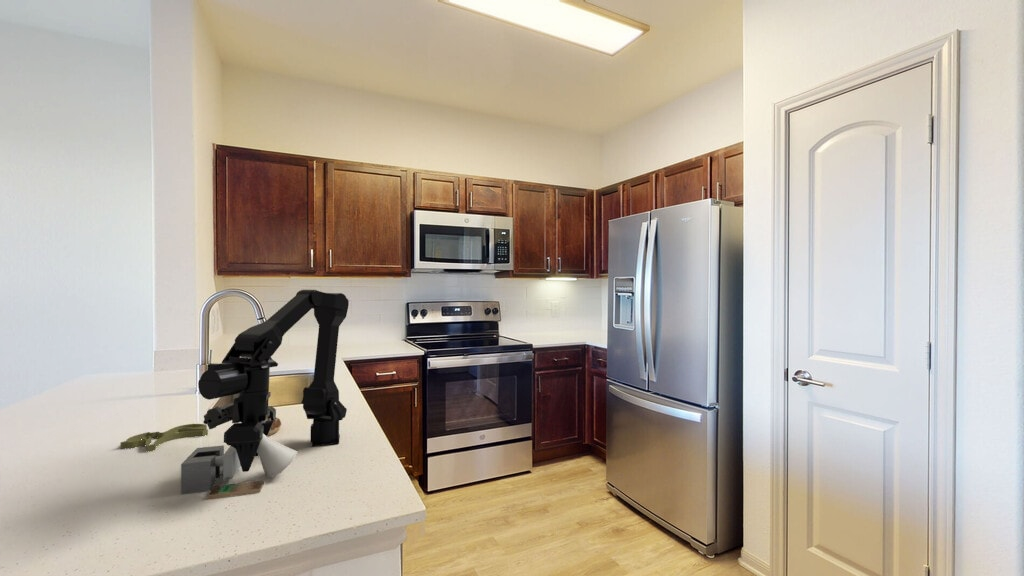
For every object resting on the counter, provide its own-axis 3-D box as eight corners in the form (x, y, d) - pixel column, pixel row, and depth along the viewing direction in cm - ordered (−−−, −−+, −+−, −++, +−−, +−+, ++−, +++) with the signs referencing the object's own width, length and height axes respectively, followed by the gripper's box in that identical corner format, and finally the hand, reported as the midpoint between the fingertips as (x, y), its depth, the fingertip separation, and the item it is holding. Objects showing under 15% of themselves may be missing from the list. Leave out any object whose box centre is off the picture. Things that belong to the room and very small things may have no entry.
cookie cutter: (138, 456, 105) (138, 448, 105) (114, 448, 110) (114, 440, 110) (216, 434, 121) (216, 427, 121) (192, 428, 126) (192, 421, 126)
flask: (281, 476, 90) (249, 443, 87) (260, 480, 93) (228, 448, 90) (304, 448, 96) (274, 417, 93) (283, 452, 99) (255, 422, 96)
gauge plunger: (242, 463, 96) (242, 440, 96) (226, 487, 85) (227, 461, 85) (218, 466, 94) (218, 442, 94) (199, 491, 83) (199, 464, 83)
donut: (289, 429, 125) (289, 415, 125) (262, 441, 115) (262, 426, 115) (257, 426, 127) (257, 413, 127) (227, 439, 117) (227, 424, 117)
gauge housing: (272, 466, 98) (272, 440, 98) (260, 492, 86) (260, 462, 86) (196, 475, 93) (197, 448, 93) (172, 504, 81) (172, 472, 81)
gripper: (222, 384, 99) (220, 453, 98) (193, 401, 81) (190, 485, 81) (277, 381, 103) (275, 448, 102) (260, 398, 85) (257, 478, 85)
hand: (251, 463), depth 92 cm, fingers open, 9 cm apart
